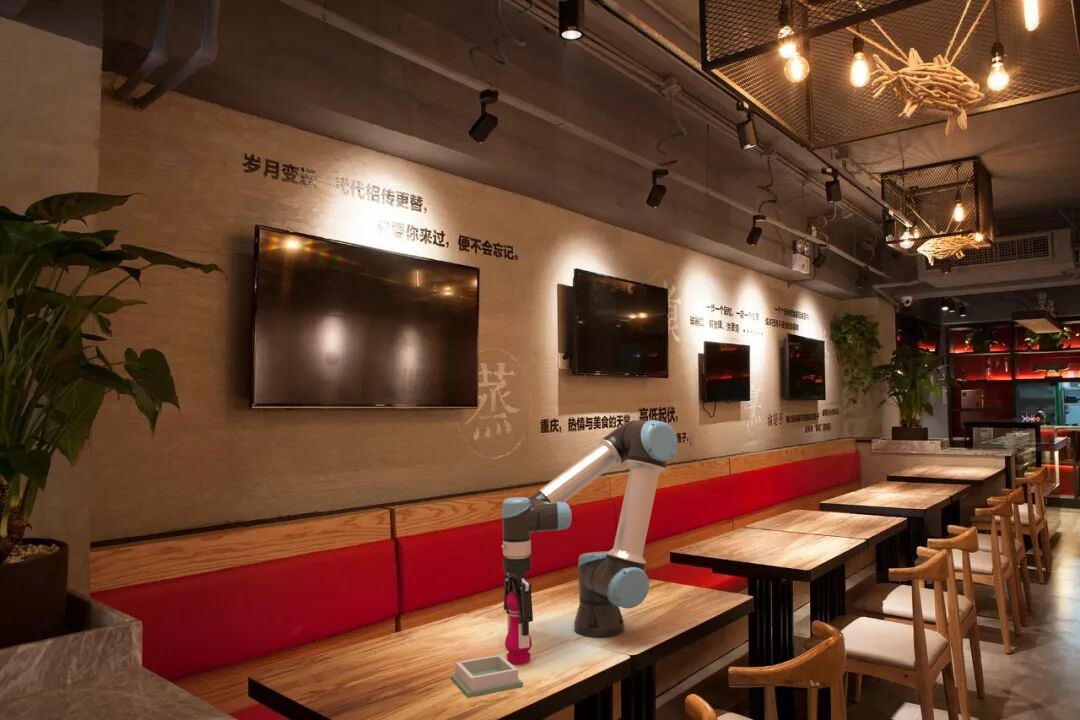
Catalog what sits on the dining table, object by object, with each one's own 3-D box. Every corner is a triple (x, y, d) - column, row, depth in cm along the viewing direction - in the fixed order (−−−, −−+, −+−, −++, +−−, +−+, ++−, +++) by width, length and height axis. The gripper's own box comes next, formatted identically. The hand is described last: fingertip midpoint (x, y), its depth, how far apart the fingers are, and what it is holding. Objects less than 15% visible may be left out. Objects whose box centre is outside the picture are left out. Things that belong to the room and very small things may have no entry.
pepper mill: (528, 666, 183) (527, 588, 184) (502, 664, 184) (500, 587, 186) (534, 656, 190) (533, 581, 191) (508, 655, 191) (507, 580, 193)
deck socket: (503, 669, 181) (503, 653, 181) (523, 686, 169) (522, 669, 169) (451, 678, 175) (451, 662, 175) (467, 697, 163) (467, 679, 163)
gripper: (490, 551, 196) (492, 634, 195) (518, 564, 178) (520, 656, 177) (515, 548, 200) (516, 630, 198) (545, 561, 181) (546, 652, 180)
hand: (518, 642), depth 187 cm, fingers open, 7 cm apart
